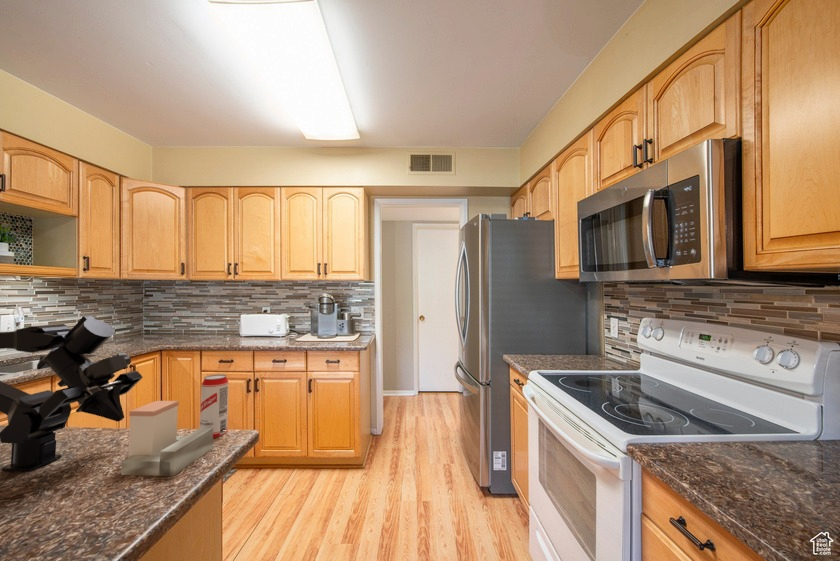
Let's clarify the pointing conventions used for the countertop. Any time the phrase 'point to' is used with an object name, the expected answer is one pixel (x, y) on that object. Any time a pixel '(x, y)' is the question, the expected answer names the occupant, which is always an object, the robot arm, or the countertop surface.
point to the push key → (153, 428)
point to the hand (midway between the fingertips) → (121, 419)
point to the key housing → (171, 455)
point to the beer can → (214, 404)
